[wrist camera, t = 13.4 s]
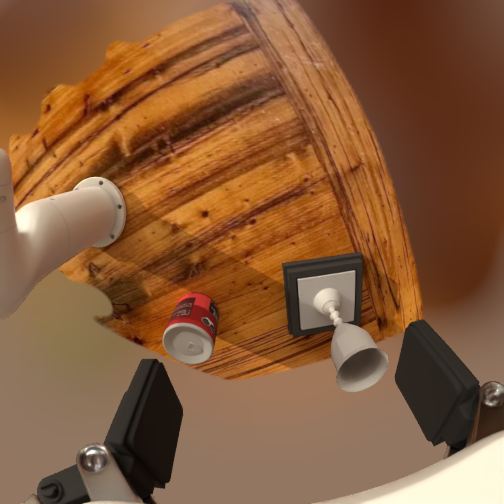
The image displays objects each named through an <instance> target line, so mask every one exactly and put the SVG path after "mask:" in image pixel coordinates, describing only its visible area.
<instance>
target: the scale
mask: <svg viewBox="0 0 504 504" xmlns="http://www.w3.org/2000/svg"><path fill="white" fill-rule="evenodd" d="M282 267H283V277H284V287H285V297H286V308H287V319H288V330H289V335H292V334H293V337H297V336H303V335H309V334H315V333H321V332H326V331H332V330H335V329H336V327H335V326H334V324H333V325H328V326H322V327H317V328H311V329H305V330H301V328H300V322H299V306H298V292H297V279H296V278H300V277H307V276H314V275H320V274H327V273H333V272H340V271H346V270H352V269H354V270H355V306H354V321H349V322H344V323H348V324H352V325H355V326H357V325H360V320H361V303H362V279H363V261H362V254H361V253H360V252H357V253H351V254H344V255H337V256H330V257H323V258H316V259H309V260H302V261H295V262H288V263H282Z"/></svg>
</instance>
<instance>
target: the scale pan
mask: <svg viewBox="0 0 504 504" xmlns="http://www.w3.org/2000/svg"><path fill="white" fill-rule="evenodd" d="M296 279H297V292H298V306H299V322H300V328H301V330H305V329H311V328H317V327H322V326H328V325H333V324H334V321H332V320H331V319H330V316H325V315H323V314H321V313H318V312H317V311H316V310H315V308H314V305H313V302H314V298H315V296H316V295H317V294H318V293H319V292H320V291H322V290H323V289H327V288H333V289H335V290H337V291H338V292H339V293H340V295H341V306H340V309H339V311H338V312H340V318H342V319H343V323H344V322H349V321H354V306H355V270H354V269H352V270H346V271H340V272H333V273H327V274H320V275H314V276H307V277H300V278H296Z"/></svg>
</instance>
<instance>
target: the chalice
mask: <svg viewBox="0 0 504 504" xmlns="http://www.w3.org/2000/svg"><path fill="white" fill-rule="evenodd" d="M313 305H314V308H315V310H316V311H317V312H318V313H321V314H323V315H325V316H330V319H331V320H332V321H334V326H335V327H336V329H335V331H334V335H333V339H332V342H331V357H332V360H333V362H334V365H335V368H336V370H337V376H336V379H337V384H338V386H339V387H340V388H341V389H343V390H344V391H348V392H356V391H361V390H364V389H367V388H368V387H370V386H372V385H373V384H375V383H376V382H377V381H378V380H379V379H380V378H381V377H382V376H383V374H384V373H385V371H386V368H387V367H388V356H387V354H386V353H385V352H384V351H383V350H381V349H378V347H377V345H376V344H375V342H374V341H373V339H372V337H371V336H370V334H369V333H368V332H367V331H365V330H364V329H362V328H360V327H358V326H355V325H352V324H348V323H343V319H342V318H340V312H338V311H339V309H340V306H341V295H340V293H339V292H338V291H337V290H335V289H333V288H327V289H323V290H322V291H320V292H319V293H318V294H317V295H316V296H315V298H314V302H313Z"/></svg>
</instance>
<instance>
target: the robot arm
mask: <svg viewBox="0 0 504 504" xmlns="http://www.w3.org/2000/svg"><path fill="white" fill-rule="evenodd" d="M121 206H122V208H121ZM125 223H126V205H125V201H124V198H123V196H122V194H121V192H120V190H119V189H118V188H117V187H116V185H114V184H113V183H112V182H111V181H109V180H107V179H105V178H102V177H92V178H88V179H85V180H83V181H81V182H80V183H79V184H78V185H77V186H76V187H75V188H74V190H73V191H70V192H66V193H62V194H59V195H55V196H51V197H48V198H44V199H41V200H37V201H34V202H31V203H28V204H26V205H25V206H23V207H22V208H21V209H20V210H19V211H18V212H16V214H15V206H14V196H13V184H12V170H11V162H10V158H9V156H8V154H7V153H6V152H5V151H4V150H3V149H1V148H0V321H2V320H4V319H6V318H7V317H9V316H10V315H11V314H12V313H13V312H14V311H15V310H17V308H18V307H19V306H20V305H21V304H22V302H23V301H24V300H25V299H26V297H27V296H28V294H29V293H30V292H31V291H32V289H33V288H34V287H35V286H36V285H37V284H38V283H39V282H40V281H41V280H42V279H43V278H45V277H46V276H47V275H48V274H50V273H51V272H52V271H54V270H55V269H57V268H58V267H60V266H61V265H63V264H64V263H66V262H67V261H69V260H70V259H72V258H73V257H75V256H76V255H78V254H79V253H81V252H82V251H84V250H85V249H87V248H89V247H90V246H92V247H105V246H108V245H109V244H111V243H113V242H114V241H115V240H117V238H118V237H119V236H120V235H121V233H122V231H123V229H124V226H125ZM114 236H115V237H114ZM395 381H396V384H397V386H398V388H399V389H400V391H401V393H402V395H403V396H404V398H405V400H406V402H407V404H408V405H409V407H410V409H411V411H412V413H413V414H414V416H415V418H416V420H417V422H418V424H419V426H420V427H421V429H422V431H423V433H424V435H425V437H426V439H427V440H428V441H431V442H432V444H433V446H436V445H438V444H440V443H442V442H444V441H445V442H446V444H447V448H446V452H445V455H444V459H443V460H442V461H440V462H438V463H435V464H433V465H431V466H429V467H427V468H425V469H423V470H420V471H418V472H416V473H414V474H411V475H409V476H406V477H404V478H401V479H399V480H396V481H393V482H391V483H388V484H385V485H382V486H379V487H376V488H373V489H369V490H366V491H363V492H360V493H356V494H352V495H348V496H345V497H340V498H336V499H332V500H327V501H322V502H317V503H311V504H504V385H503V384H501V383H499V382H495V381H490V382H487V383H485V384H484V385H482V387H480V385H479V381H478V380H477V379H476V377H475V376H474V375H473V374H472V373H471V371H470V370H469V369H468V368H467V367H466V366H465V364H464V363H463V362H462V361H461V360H460V358H459V357H458V356H457V355H456V354H455V353H454V352H453V351H452V349H451V348H450V347H449V346H448V345H447V344H446V343H445V342H444V341H443V340H442V338H441V337H440V336H439V335H438V334H437V333H436V332H435V331H434V330H433V329H432V328H431V327H430V325H429V324H428V323H427V322H426V321H425V320H418V321H415V322H411V323H410V324H409V326H408V327H407V328H406V329H405V334H404V339H403V344H402V348H401V353H400V357H399V362H398V366H397V370H396V373H395ZM182 417H183V408H182V405H181V403H180V401H179V399H178V397H177V395H176V393H175V390H174V388H173V386H172V384H171V382H170V379H169V377H168V374H167V372H166V370H165V368H164V365H163V363H159V361H158V360H157V359H142V360H141V362H140V364H139V366H138V368H137V370H136V373H135V375H134V377H133V379H132V382H131V384H130V386H129V389H128V391H127V392H125V394H124V396H123V398H122V400H121V403H120V405H119V407H118V410H117V412H116V414H115V417H114V419H113V421H112V424H111V426H110V429H109V431H108V434H107V436H106V439H105V442H104V444H100V443H91V444H88V445H86V446H84V447H83V448H82V449H81V450H80V451H79V452H78V454H77V457H76V463H77V464H76V465H74V466H71V467H69V468H67V469H64V470H62V471H60V472H58V473H55V474H53V475H50V476H48V477H46V478H44V479H42V481H41V482H40V483H39V485H38V488H37V493H38V494H37V495H35V494H32V495H31V496H30V497H29V498H27V499H26V500H25V501H24V502H22V503H21V504H159V503H158V502H157V500H156V499H155V497H154V496H153V490H154V487H156V488H164V489H165V484H166V483H168V482H169V481H170V479H171V473H172V468H173V462H174V457H175V452H176V447H177V442H178V436H179V431H180V426H181V422H182Z"/></svg>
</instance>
